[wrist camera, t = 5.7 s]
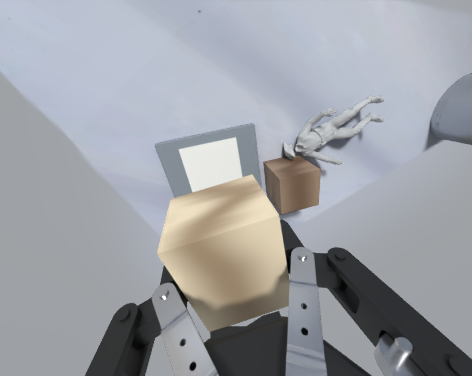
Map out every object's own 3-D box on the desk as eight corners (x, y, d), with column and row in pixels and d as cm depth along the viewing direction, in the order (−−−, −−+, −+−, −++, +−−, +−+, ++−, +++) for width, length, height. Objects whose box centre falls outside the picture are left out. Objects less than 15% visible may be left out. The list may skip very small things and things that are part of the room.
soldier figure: (384, 142, 24) (309, 188, 24) (352, 135, 29) (288, 174, 28) (386, 80, 20) (295, 133, 19) (349, 82, 24) (272, 126, 23)
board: (251, 123, 23) (254, 125, 22) (260, 196, 29) (263, 200, 27) (156, 143, 22) (154, 146, 21) (183, 214, 28) (183, 220, 26)
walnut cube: (296, 154, 26) (320, 169, 21) (296, 184, 29) (318, 204, 24) (263, 161, 26) (279, 179, 21) (266, 191, 28) (281, 214, 23)
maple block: (252, 174, 13) (279, 215, 9) (268, 250, 17) (293, 304, 13) (170, 199, 13) (156, 253, 9) (206, 270, 17) (209, 332, 12)
